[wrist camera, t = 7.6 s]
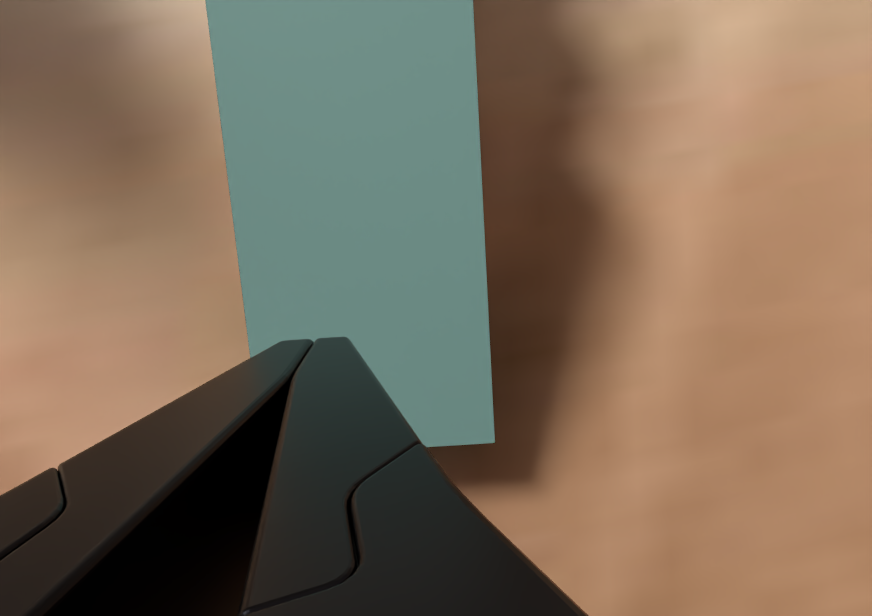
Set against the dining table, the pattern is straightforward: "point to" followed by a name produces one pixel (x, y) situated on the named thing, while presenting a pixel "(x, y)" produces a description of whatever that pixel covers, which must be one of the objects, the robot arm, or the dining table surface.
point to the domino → (363, 192)
